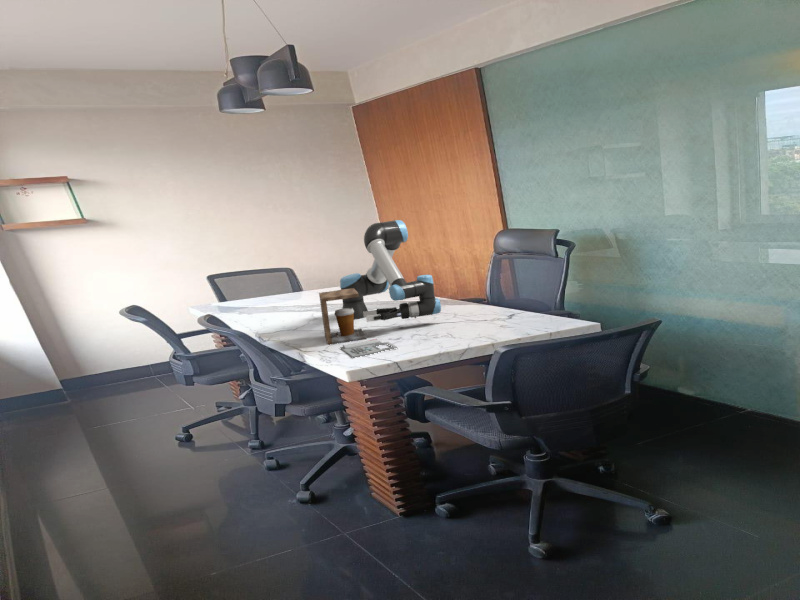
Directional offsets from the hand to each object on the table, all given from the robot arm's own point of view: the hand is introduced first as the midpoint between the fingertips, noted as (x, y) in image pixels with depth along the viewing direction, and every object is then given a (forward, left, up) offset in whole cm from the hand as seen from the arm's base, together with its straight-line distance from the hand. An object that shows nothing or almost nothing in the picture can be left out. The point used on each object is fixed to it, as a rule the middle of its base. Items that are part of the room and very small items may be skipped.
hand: (364, 316), depth 321 cm
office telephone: (+14, +29, -9) cm, 33 cm away
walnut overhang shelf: (+10, -4, -8) cm, 14 cm away
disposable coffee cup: (+8, -5, -8) cm, 12 cm away
